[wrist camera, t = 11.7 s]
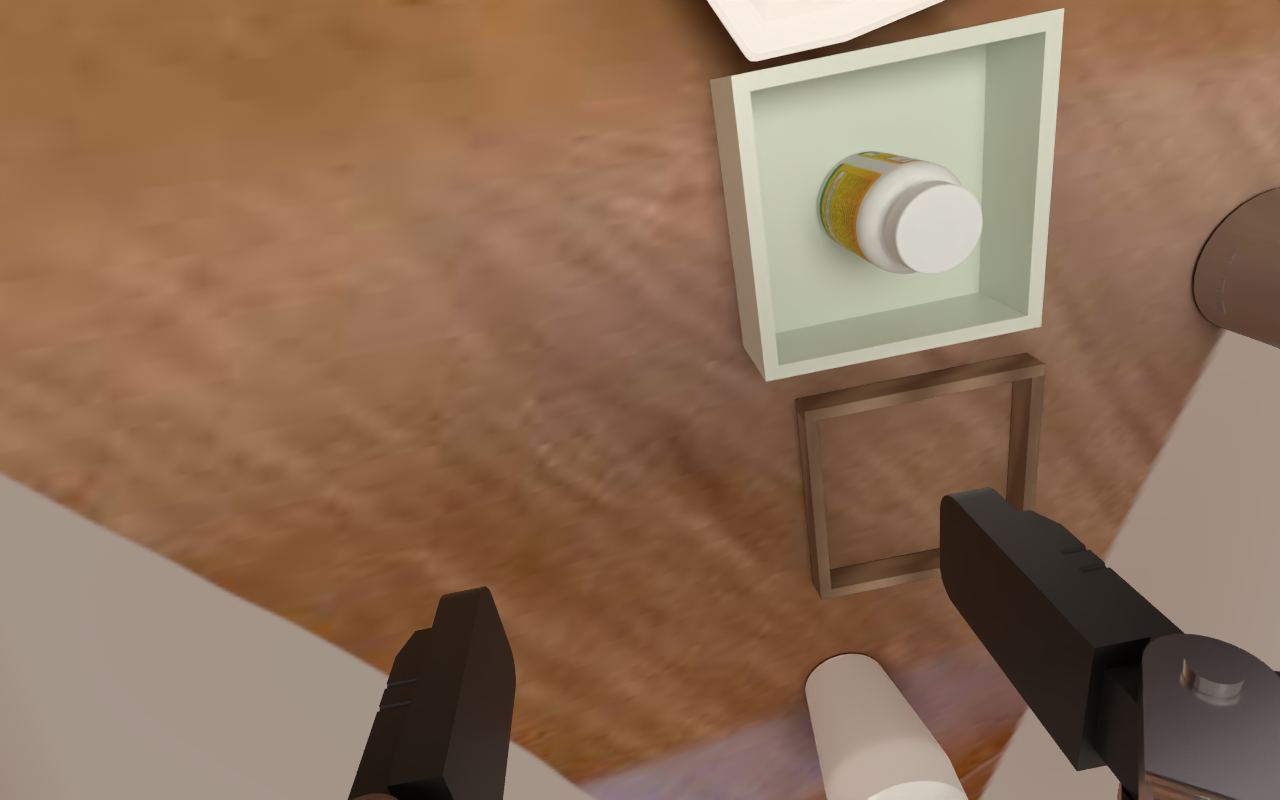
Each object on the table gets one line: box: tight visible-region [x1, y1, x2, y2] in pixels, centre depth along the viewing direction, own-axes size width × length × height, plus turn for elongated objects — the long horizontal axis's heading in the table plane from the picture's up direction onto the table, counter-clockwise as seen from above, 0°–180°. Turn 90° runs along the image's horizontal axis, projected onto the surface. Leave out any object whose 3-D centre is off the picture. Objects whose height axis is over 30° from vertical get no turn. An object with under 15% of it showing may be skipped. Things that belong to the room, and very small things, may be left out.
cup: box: [805, 654, 968, 800], centre depth 50 cm, size 9×9×12 cm
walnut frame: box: [795, 353, 1045, 600], centre depth 46 cm, size 16×16×2 cm
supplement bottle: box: [818, 151, 983, 274], centre depth 34 cm, size 5×5×10 cm
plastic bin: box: [710, 8, 1064, 382], centre depth 36 cm, size 16×16×6 cm
